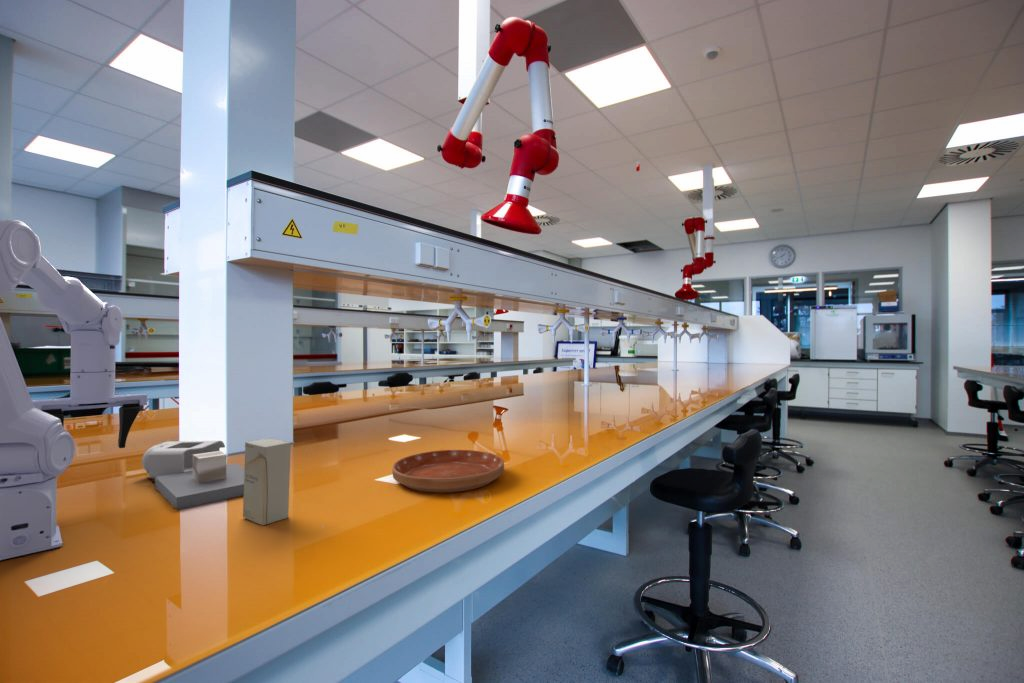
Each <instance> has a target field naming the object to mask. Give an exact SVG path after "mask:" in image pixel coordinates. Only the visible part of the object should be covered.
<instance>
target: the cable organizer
mask: <svg viewBox="0 0 1024 683" xmlns="http://www.w3.org/2000/svg"><path fill="white" fill-rule="evenodd" d="M225 445H226V444H225V443H224V441H222V440H185V441H183V440H182V441H181V440H179V441H172V440H171V441H163V442H162V443H159V444H155V445H152V447H150V448H148V449H147V450H146V451H145V452H144V453H143V455H142V459H141V465H142V468H143V469H144V471H145V472H146V473H147V474H148V476H149V478H151V479H155V477H156V476H162V475H168V474H174V473H180V472H186V471H192V470H193V455H194V454H201V453H208V452H215V451H221V450H220V449H224V448H226V446H225Z"/></svg>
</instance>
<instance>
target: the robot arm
mask: <svg viewBox="0 0 1024 683" xmlns="http://www.w3.org/2000/svg"><path fill="white" fill-rule="evenodd" d="M21 282H22V283H23V284H25V285H26V286H29V287H30V288H32V289H33V290H35V291H36V292H37V294H36V297H37V300H38V302H39V303H40V304H41V305H42V306H43V307H44V308H46V309H48V310H49V311H50V312H52V313H53V314H54V315H56V316H57V319H58V321H60V323H61V326H62V329H63V330H64V332H65V333H66V334H68V335H70V377H69V378H70V380H69V381H70V384H69V385H70V390H69V393H70V394H69V397H60V398H51V399H50V398H48V399H37V400H35V399H33V400H32V398H31V395H30V392H29V390H28V387H27V384H26V381H25V378H24V376H23V374H22V371H21V368H20V366H19V363H18V359H17V358H16V355H15V352H14V349H13V346H12V344H11V342H10V339H9V337H8V334H7V330H6V328H5V326H4V322H3V320H2V318H1V316H0V561H3V560H7V559H11V558H16V557H21V556H25V555H30V554H34V553H38V552H43V551H47V550H52V549H55V548H60V547H62V546H63V539H62V534H61V530H60V526H59V525H57V501H58V500H57V493H58V492H57V490H58V487H57V486H58V483H57V482H58V481H57V480H58V476H61V475H63V474H64V472H65V471H66V470H67V469H68V468H69V466H70V465H71V463H72V462H73V459H74V457H75V453H76V442H75V440H74V437H73V436H72V435H71V434H70V432H69V431H68V430H66V428H64V424H65V422H64V421H65V420H64V419H65V417H64V416H65V415H64V411H77V410H91V409H100V408H102V409H104V408H118V407H119V408H118V415H119V416H118V417H119V418H118V420H119V427H118V428H119V431H118V440H117V442H118V443H117V445H118V446H117V447H118V448H119V449H124V448H126V443H127V439H128V436H129V433H130V431H131V429H132V426H133V423H134V422H135V420H136V418H137V417H138V415H139V414H140V411H141V406H147V405H148V394H146V393H133V394H116V346H118V345H119V343H120V335H121V332H122V330H123V327H124V317H123V316H124V315H123V313H122V310H121V309H120V307H118V306H117V305H114V304H113V303H112V302H103V301H102V299H100V298H99V297H98V296H97V295H96V294H94V293H93V292H92V291H91V290H90V289H89V288H88V287H86V285H84V283H83V282H81V280H80V279H79V278H77V277H71V276H63V275H61V274H60V272H59V271H58V270H57V269H56V268H55V267H54V266H53V265H52V264H51V262H49V261H48V260H47V258H45V257H44V256H43V255H42V246H41V241H40V237H39V235H37V234H36V233H35V232H34V231H33V229H31V227H30V226H28V224H26V223H25V222H23V221H21V220H18V219H5V220H0V296H1V295H5V294H8V293H9V292H12V291H15V289H16V287H17V286H18V285H19V284H20V283H21ZM102 403H103V404H102ZM104 403H106V404H104ZM88 404H89V405H88ZM90 404H91V405H90ZM92 404H93V405H92Z"/></svg>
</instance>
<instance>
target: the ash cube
mask: <svg viewBox="0 0 1024 683" xmlns="http://www.w3.org/2000/svg"><path fill="white" fill-rule="evenodd" d="M226 465H227V454H226V453H224V452H223V451H222V450H220V451H215V452H208V453H201V454H194V455H193V479H194V480H196V481H197V482H198V483H201V482H207V481H212V480H218V479H223V478H226Z"/></svg>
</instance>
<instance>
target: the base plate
mask: <svg viewBox="0 0 1024 683" xmlns="http://www.w3.org/2000/svg"><path fill="white" fill-rule="evenodd" d="M244 469H245V467H243V466H242V465H240V464H238V463H237V462H235V463H229V464H226V478H223V479H218V480H212V481H207V482H201V483H198V482H197V481H196V480H194V479H193V470H192V471H186V472H180V473H174V474H168V475H162V476H156V477H155V478H154V488H155V489H156V490H157V491H158V492H159V493H160V494H161V495H162V496H163V497H164V498H165V499H166V500H167V501H168V502H169V503H170V504H171V505H172V507H173V508H175V510H180V509H184V508H190V507H194V506H199V505H205V504H208V503H212V502H218V501H223V500H227V499H232V498H236V497H240V496H244Z"/></svg>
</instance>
